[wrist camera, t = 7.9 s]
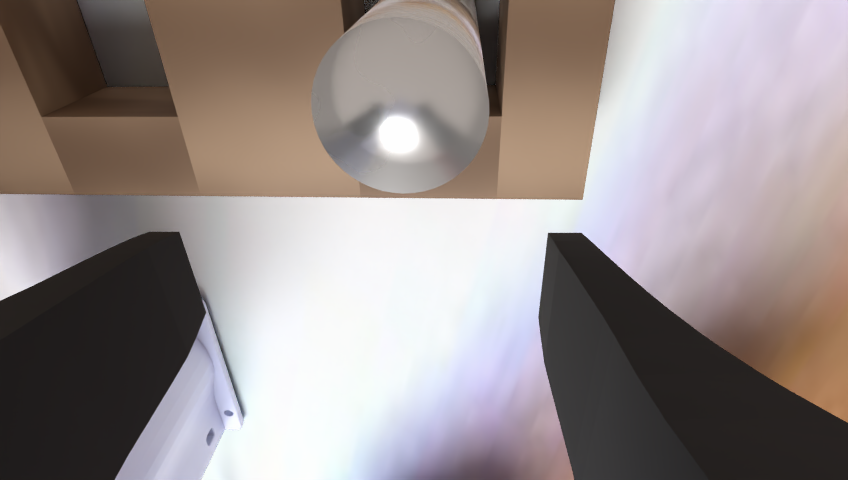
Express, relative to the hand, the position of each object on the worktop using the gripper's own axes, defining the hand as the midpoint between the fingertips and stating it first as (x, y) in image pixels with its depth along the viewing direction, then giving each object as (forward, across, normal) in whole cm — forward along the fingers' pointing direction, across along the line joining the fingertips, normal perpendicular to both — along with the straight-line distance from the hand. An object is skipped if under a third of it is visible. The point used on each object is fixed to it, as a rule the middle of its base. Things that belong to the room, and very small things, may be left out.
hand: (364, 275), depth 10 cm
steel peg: (+10, -1, -3) cm, 11 cm away
